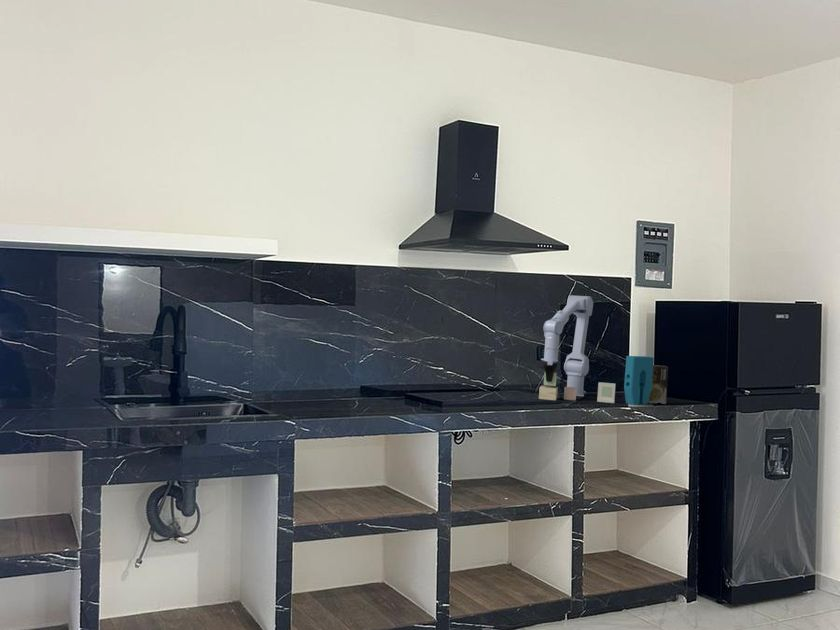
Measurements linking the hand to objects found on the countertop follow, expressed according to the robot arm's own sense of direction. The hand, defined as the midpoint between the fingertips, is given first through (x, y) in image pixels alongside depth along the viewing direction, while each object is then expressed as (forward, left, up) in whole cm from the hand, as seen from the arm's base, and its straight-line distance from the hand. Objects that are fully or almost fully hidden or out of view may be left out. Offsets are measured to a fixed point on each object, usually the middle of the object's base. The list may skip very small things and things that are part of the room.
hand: (549, 381), depth 368 cm
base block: (0, 0, -8) cm, 8 cm away
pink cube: (-5, +9, -8) cm, 13 cm away
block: (-9, +37, -8) cm, 39 cm away
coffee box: (-19, +45, -8) cm, 49 cm away
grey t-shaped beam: (-6, +24, -7) cm, 26 cm away
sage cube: (0, 0, -2) cm, 2 cm away
